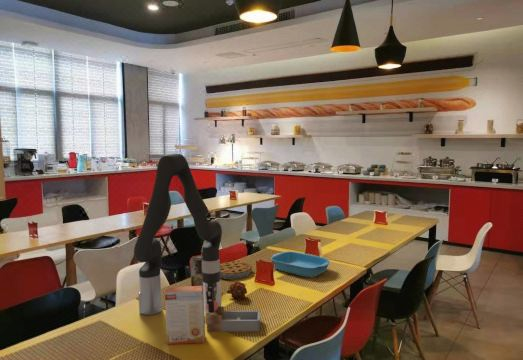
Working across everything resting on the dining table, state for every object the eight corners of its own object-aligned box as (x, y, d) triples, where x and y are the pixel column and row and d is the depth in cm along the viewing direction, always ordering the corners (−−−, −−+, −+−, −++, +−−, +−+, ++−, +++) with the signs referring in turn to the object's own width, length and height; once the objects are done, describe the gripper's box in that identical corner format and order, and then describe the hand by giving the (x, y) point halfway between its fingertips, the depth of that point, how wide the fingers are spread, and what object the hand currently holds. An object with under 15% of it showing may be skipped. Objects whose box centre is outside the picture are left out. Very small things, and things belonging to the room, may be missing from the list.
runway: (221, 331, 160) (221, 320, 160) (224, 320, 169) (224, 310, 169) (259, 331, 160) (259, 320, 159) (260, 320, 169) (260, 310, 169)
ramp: (207, 331, 160) (206, 316, 160) (210, 321, 169) (209, 306, 169) (223, 331, 160) (223, 316, 160) (226, 320, 169) (225, 306, 169)
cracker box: (205, 335, 157) (203, 285, 155) (203, 343, 151) (202, 290, 149) (169, 336, 156) (167, 285, 154) (166, 344, 150) (164, 291, 148)
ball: (217, 314, 162) (217, 302, 161) (205, 314, 162) (205, 302, 161) (219, 308, 167) (218, 297, 166) (207, 308, 167) (206, 297, 166)
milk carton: (205, 314, 176) (204, 273, 174) (203, 308, 182) (202, 268, 180) (221, 312, 177) (220, 271, 175) (219, 306, 184) (217, 266, 182)
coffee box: (211, 285, 211) (210, 256, 209) (208, 290, 204) (207, 259, 203) (194, 285, 212) (193, 255, 210) (190, 289, 205) (189, 259, 203)
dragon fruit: (243, 305, 189) (230, 300, 199) (254, 291, 193) (241, 287, 203) (233, 293, 186) (220, 289, 196) (244, 279, 190) (231, 276, 200)
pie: (209, 271, 234) (209, 262, 234) (243, 265, 244) (243, 257, 243) (221, 283, 215) (221, 274, 214) (258, 276, 224) (258, 267, 223)
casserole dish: (263, 268, 237) (263, 257, 236) (285, 259, 254) (285, 249, 253) (316, 282, 213) (316, 269, 213) (336, 271, 230) (336, 259, 230)
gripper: (218, 275, 155) (219, 317, 157) (222, 264, 169) (223, 302, 171) (198, 275, 155) (200, 317, 157) (204, 264, 170) (206, 302, 171)
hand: (212, 309), depth 164 cm, fingers closed on ball, 4 cm apart
